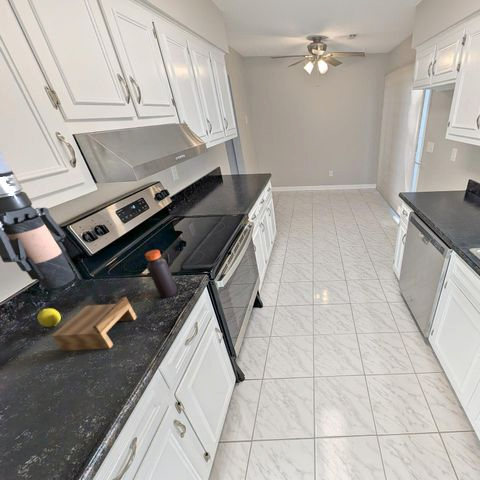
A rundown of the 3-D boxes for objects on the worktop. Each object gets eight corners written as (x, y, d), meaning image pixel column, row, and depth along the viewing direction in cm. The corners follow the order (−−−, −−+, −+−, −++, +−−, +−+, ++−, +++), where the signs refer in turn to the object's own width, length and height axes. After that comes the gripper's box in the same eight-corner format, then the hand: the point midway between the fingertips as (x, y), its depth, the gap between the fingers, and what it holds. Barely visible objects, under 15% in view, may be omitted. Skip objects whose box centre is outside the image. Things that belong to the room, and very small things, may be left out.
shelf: (63, 350, 84) (46, 328, 79) (95, 319, 96) (83, 299, 92) (110, 348, 84) (96, 326, 79) (137, 317, 96) (126, 296, 92)
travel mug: (81, 277, 77) (45, 216, 68) (49, 292, 71) (5, 227, 62) (69, 272, 80) (32, 213, 71) (37, 286, 74) (-7, 223, 65)
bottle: (172, 297, 105) (155, 256, 96) (156, 298, 106) (138, 257, 96) (180, 287, 111) (165, 248, 102) (165, 288, 112) (148, 249, 102)
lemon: (43, 333, 92) (30, 317, 88) (46, 324, 96) (34, 308, 92) (63, 326, 94) (52, 310, 91) (66, 317, 98) (54, 302, 95)
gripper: (-34, 207, 54) (28, 292, 65) (55, 183, 72) (93, 252, 83) (-67, 209, 54) (0, 293, 65) (30, 184, 73) (71, 253, 83)
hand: (52, 270), depth 74 cm, fingers closed on travel mug, 8 cm apart
